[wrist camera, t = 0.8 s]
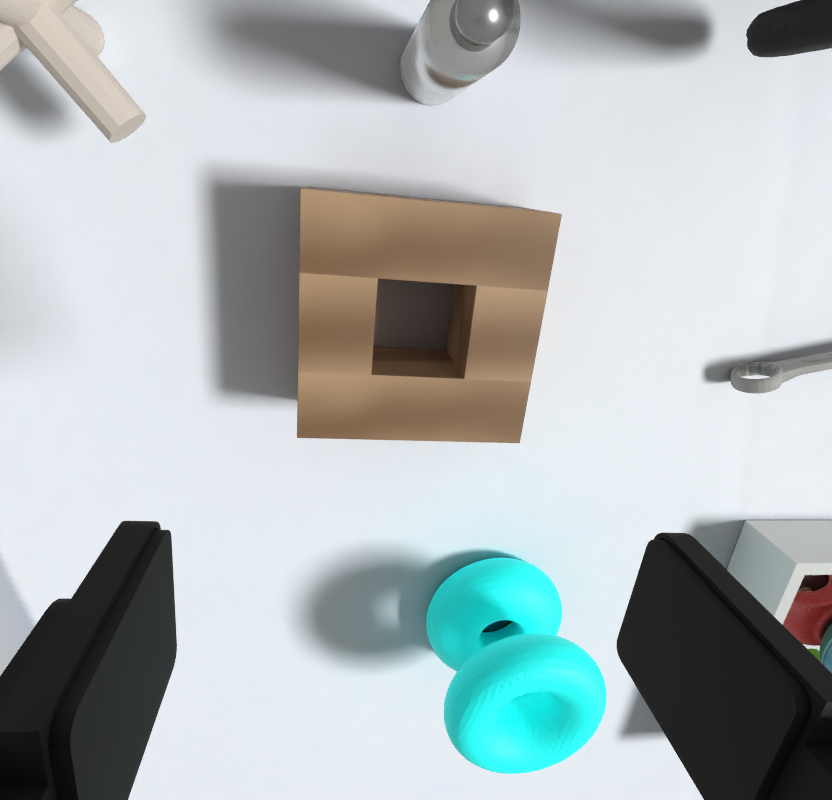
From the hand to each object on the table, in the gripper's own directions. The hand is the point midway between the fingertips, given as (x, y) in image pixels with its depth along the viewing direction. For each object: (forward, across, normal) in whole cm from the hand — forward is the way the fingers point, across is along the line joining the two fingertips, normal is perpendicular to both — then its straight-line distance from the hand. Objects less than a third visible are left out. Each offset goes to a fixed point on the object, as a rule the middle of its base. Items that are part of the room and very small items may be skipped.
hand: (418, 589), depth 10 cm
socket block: (+22, -2, -1) cm, 23 cm away
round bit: (+22, -2, -13) cm, 26 cm away
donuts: (+23, -11, +21) cm, 33 cm away
